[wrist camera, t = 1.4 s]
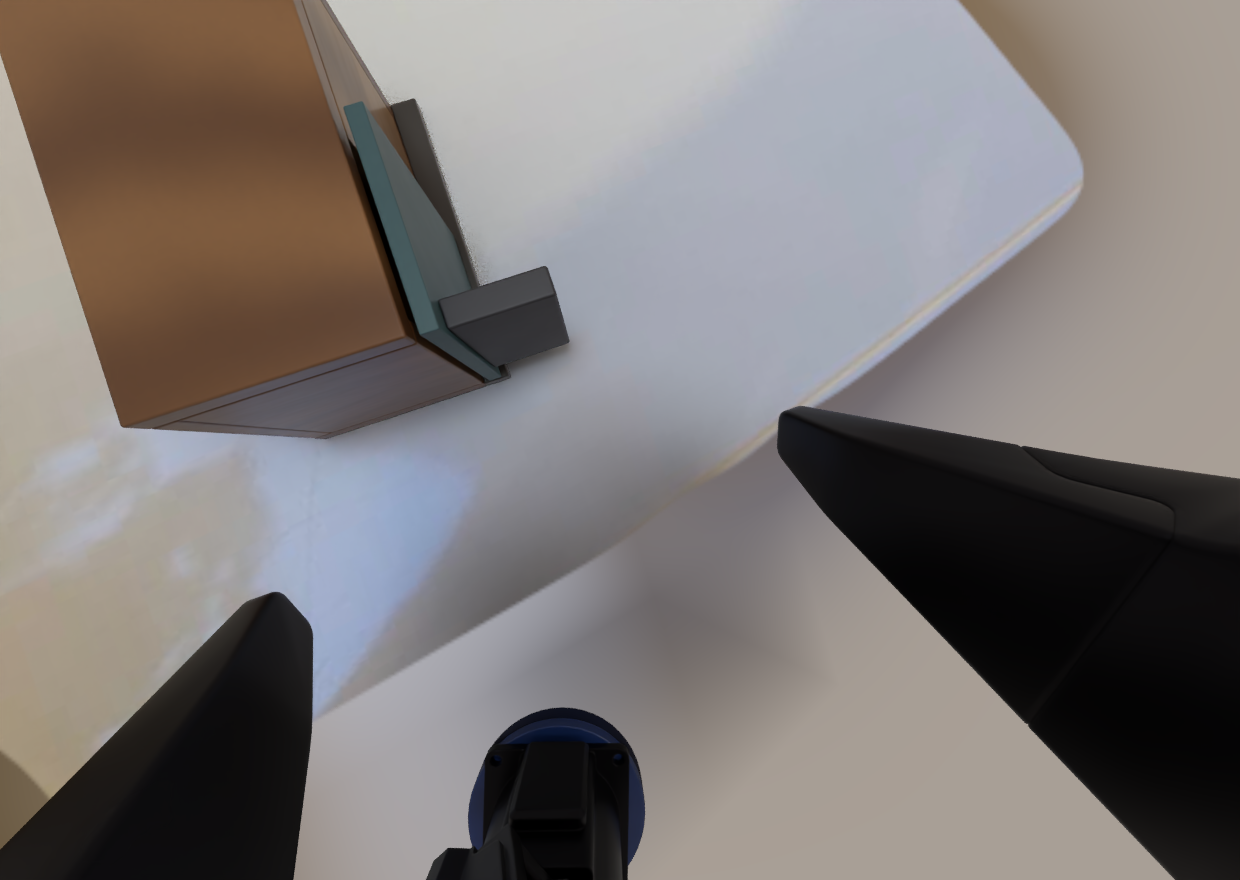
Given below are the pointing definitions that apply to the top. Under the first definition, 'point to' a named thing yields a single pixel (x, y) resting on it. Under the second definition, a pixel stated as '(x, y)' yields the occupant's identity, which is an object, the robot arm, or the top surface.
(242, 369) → the cupboard
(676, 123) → the top surface
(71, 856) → the robot arm
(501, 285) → the sliding door
